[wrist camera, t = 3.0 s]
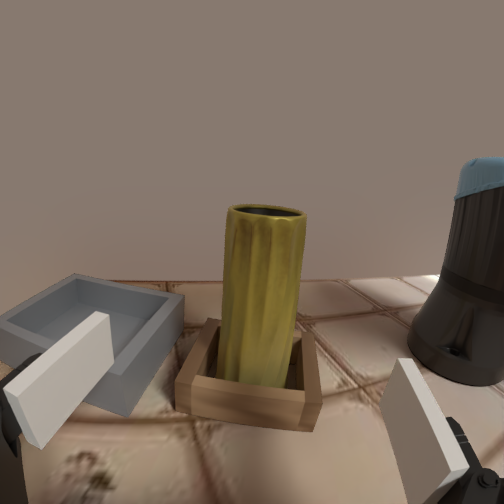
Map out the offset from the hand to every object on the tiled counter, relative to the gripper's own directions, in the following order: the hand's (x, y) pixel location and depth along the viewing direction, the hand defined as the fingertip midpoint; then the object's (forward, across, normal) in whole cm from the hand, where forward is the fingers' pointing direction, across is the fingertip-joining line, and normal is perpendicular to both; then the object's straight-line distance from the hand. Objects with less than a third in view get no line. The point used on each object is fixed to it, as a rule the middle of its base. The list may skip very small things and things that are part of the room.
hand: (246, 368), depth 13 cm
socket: (+10, 0, -9) cm, 13 cm away
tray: (+10, -15, -9) cm, 20 cm away
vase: (+10, 0, -9) cm, 13 cm away
